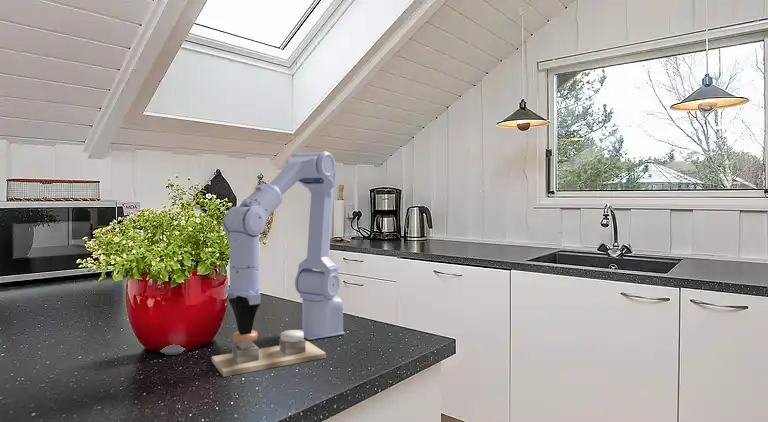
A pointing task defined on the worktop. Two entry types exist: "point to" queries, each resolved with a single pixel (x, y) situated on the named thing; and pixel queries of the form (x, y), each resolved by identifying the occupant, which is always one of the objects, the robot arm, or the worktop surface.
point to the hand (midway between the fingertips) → (245, 333)
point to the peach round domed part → (245, 339)
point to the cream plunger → (292, 336)
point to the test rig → (266, 357)
